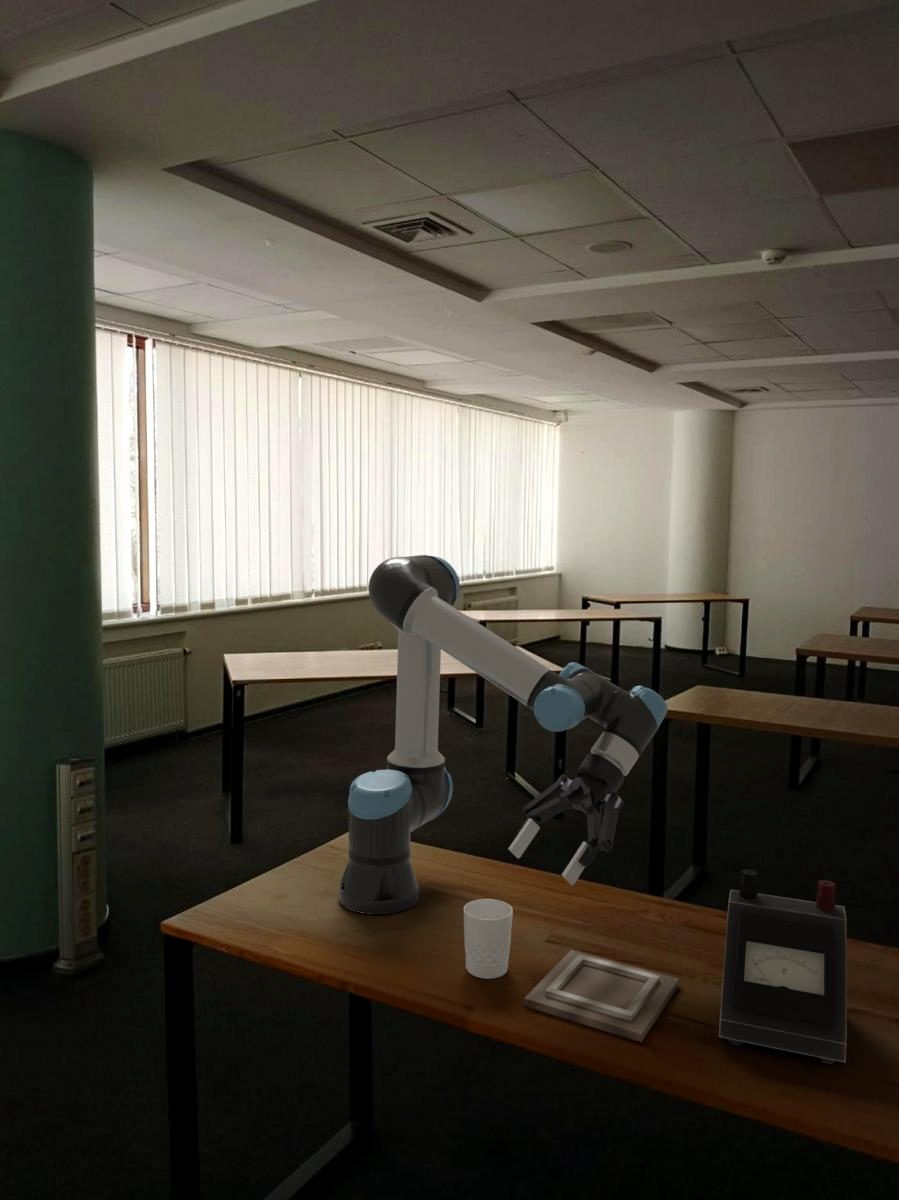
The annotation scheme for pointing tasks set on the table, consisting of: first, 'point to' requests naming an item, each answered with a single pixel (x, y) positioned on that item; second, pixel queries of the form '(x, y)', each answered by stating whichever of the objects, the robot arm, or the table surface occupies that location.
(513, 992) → the table surface
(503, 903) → the white cup
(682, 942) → the table surface
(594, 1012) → the framed square tray
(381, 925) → the table surface
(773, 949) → the voltmeter
